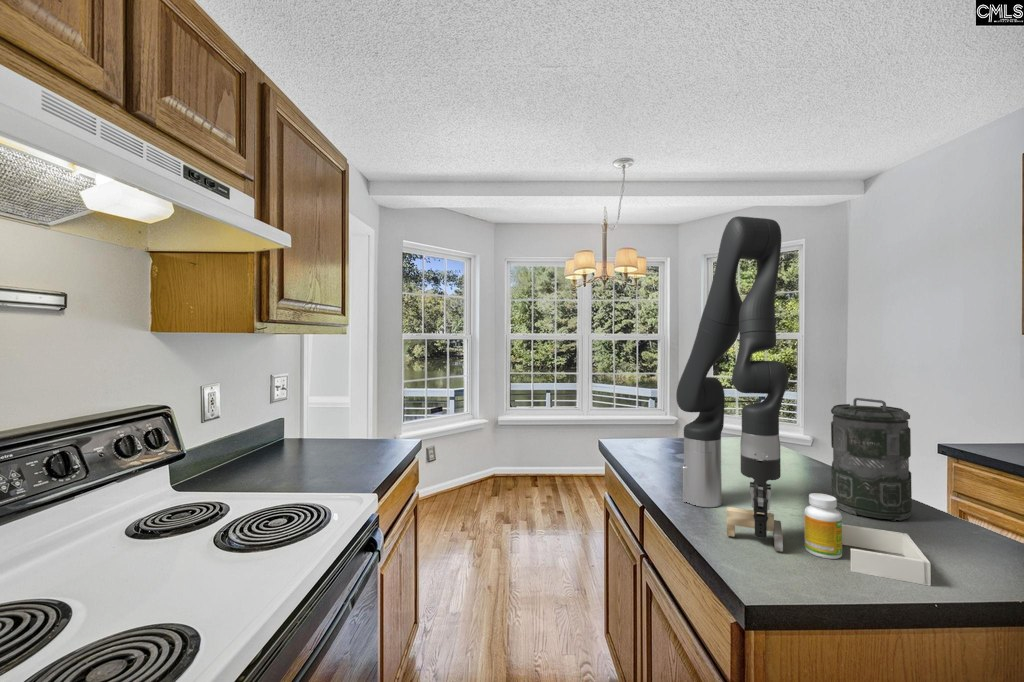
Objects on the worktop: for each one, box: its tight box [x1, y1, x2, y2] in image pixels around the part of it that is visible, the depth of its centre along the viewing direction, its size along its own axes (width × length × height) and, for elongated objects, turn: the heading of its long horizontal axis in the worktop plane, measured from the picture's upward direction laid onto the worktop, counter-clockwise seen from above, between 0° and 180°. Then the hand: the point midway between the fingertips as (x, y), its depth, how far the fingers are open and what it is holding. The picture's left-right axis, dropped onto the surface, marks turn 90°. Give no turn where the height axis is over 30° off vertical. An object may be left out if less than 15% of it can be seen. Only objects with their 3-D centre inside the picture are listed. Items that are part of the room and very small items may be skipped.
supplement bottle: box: [804, 492, 843, 560], centre depth 92 cm, size 6×6×11 cm
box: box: [842, 523, 932, 587], centre depth 88 cm, size 11×14×4 cm
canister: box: [830, 397, 913, 522], centre depth 115 cm, size 16×16×28 cm
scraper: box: [726, 506, 784, 552], centre depth 98 cm, size 10×9×6 cm
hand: (760, 534), depth 98 cm, fingers closed on scraper, 2 cm apart
